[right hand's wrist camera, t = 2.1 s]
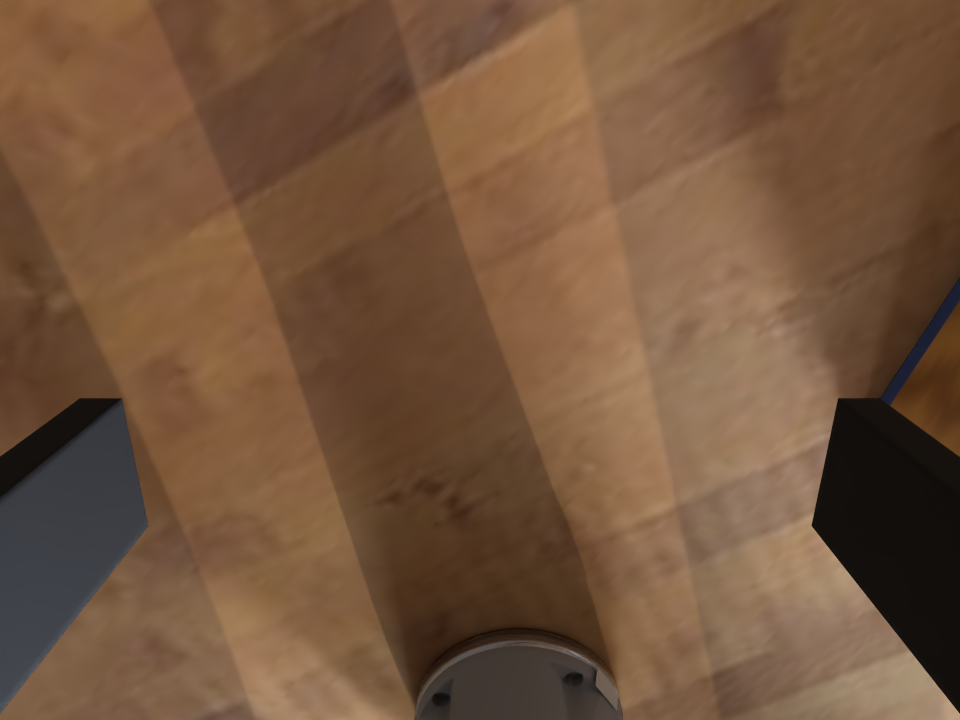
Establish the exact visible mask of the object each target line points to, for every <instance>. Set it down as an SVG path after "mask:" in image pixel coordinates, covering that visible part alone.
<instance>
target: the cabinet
mask: <svg viewBox="0 0 960 720" xmlns="http://www.w3.org/2000/svg"><path fill="white" fill-rule="evenodd" d="M881 400H883V401H884V402H886V403H887V404H888V405H890V406H891V407H892V408H894V409H895V410H896V411H898V412H899V413H901V414H902V415H903V416H905V417H906V418H907V419H909V420H910V421H912V422H913V423H914V424H916V425H917V426H918V427H920V428H921V429H922V430H924V431H925V432H927V433H928V434H929V435H931V436H932V437H933V438H935V439H936V440H937V441H939V442H940V443H942V444H943V445H944V446H946V447H947V448H948V449H950V450H951V451H952V452H954V453H955V454H957V455H958V456H959V457H960V278H959V280H958V281H957V283H956V284H955V286H954V287H953V289H952V291H951V292H950V294H949V295H948V297H947V298H946V300H945V301H944V303H943V304H942V306H941V307H940V309H939V310H938V312H937V313H936V315H935V317H934V318H933V320H932V321H931V323H930V324H929V326H928V327H927V329H926V330H925V332H924V333H923V335H922V336H921V338H920V339H919V341H918V342H917V344H916V346H915V347H914V349H913V350H912V352H911V353H910V355H909V356H908V358H907V359H906V361H905V362H904V364H903V365H902V367H901V368H900V370H899V371H898V373H897V375H896V376H895V378H894V379H893V381H892V382H891V384H890V385H889V387H888V388H887V390H886V391H885V393H884V394H883V396H882V397H881Z"/></svg>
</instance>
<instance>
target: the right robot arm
mask: <svg viewBox="0 0 960 720" xmlns="http://www.w3.org/2000/svg"><path fill="white" fill-rule="evenodd" d="M147 527H148V522H147V517H146V512H145V507H144V503H143V498H142V493H141V488H140V483H139V479H138V474H137V469H136V464H135V459H134V455H133V450H132V445H131V440H130V435H129V431H128V426H127V421H126V416H125V411H124V407H123V402H122V398H80V399H79V400H77V401H76V402H74V403H73V404H72V405H70V406H69V407H68V408H66V409H65V410H64V411H62V412H61V413H59V414H58V415H57V416H55V417H54V418H53V419H51V420H50V421H48V422H47V423H46V424H44V425H43V426H42V427H40V428H39V429H38V430H36V431H35V432H33V433H32V434H31V435H29V436H28V437H27V438H25V439H24V440H23V441H21V442H20V443H18V444H17V445H16V446H14V447H13V448H12V449H10V450H9V451H8V452H6V453H5V454H3V455H2V456H1V457H0V713H1V712H2V711H3V709H4V708H5V707H6V706H7V704H8V703H9V702H10V700H11V699H12V698H13V697H14V695H15V694H16V693H17V692H18V690H19V689H20V688H21V687H22V685H23V684H24V683H25V681H26V680H27V679H28V678H29V676H30V675H31V674H32V673H33V671H34V670H35V669H36V668H37V666H38V665H39V664H40V662H41V661H42V660H43V659H44V657H45V656H46V655H47V654H48V652H49V651H50V650H51V649H52V647H53V646H54V645H55V643H56V642H57V641H58V640H59V638H60V637H61V636H62V635H63V633H64V632H65V631H66V630H67V628H68V627H69V626H70V624H71V623H72V622H73V621H74V619H75V618H76V617H77V616H78V614H79V613H80V612H81V611H82V609H83V608H84V607H85V605H86V604H87V603H88V602H89V600H90V599H91V598H92V597H93V595H94V594H95V593H96V592H97V590H98V589H99V588H100V586H101V585H102V584H103V583H104V581H105V580H106V579H107V578H108V576H109V575H110V574H111V573H112V571H113V570H114V569H115V567H116V566H117V565H118V564H119V562H120V561H121V560H122V559H123V557H124V556H125V555H126V554H127V552H128V551H129V550H130V548H131V547H132V546H133V545H134V543H135V542H136V541H137V540H138V538H139V537H140V536H141V534H142V533H143V532H144V531H145V529H146V528H147ZM812 527H813V528H814V529H815V531H816V532H817V533H818V534H819V536H820V537H821V538H822V540H823V541H824V542H825V543H826V545H827V546H828V547H829V548H830V550H831V551H832V552H833V554H834V555H835V556H836V557H837V559H838V560H839V561H840V562H841V564H842V565H843V566H844V567H845V569H846V570H847V571H848V573H849V574H850V575H851V576H852V578H853V579H854V580H855V581H856V583H857V584H858V585H859V586H860V588H861V589H862V590H863V592H864V593H865V594H866V595H867V597H868V598H869V599H870V600H871V602H872V603H873V604H874V605H875V607H876V608H877V609H878V611H879V612H880V613H881V614H882V616H883V617H884V618H885V619H886V621H887V622H888V623H889V624H890V626H891V627H892V628H893V630H894V631H895V632H896V633H897V635H898V636H899V637H900V638H901V640H902V641H903V642H904V643H905V645H906V646H907V647H908V649H909V650H910V651H911V652H912V654H913V655H914V656H915V657H916V659H917V660H918V661H919V662H920V664H921V665H922V666H923V668H924V669H925V670H926V671H927V673H928V674H929V675H930V676H931V678H932V679H933V680H934V681H935V683H936V684H937V685H938V687H939V688H940V689H941V690H942V692H943V693H944V694H945V695H946V697H947V698H948V699H949V700H950V702H951V703H952V704H953V706H954V707H955V708H956V709H957V711H958V712H959V713H960V457H959V456H958V455H957V454H955V453H954V452H952V451H951V450H950V449H948V448H947V447H946V446H944V445H943V444H942V443H940V442H939V441H937V440H936V439H935V438H933V437H932V436H931V435H929V434H928V433H927V432H925V431H924V430H922V429H921V428H920V427H918V426H917V425H916V424H914V423H913V422H912V421H910V420H909V419H907V418H906V417H905V416H903V415H902V414H901V413H899V412H898V411H896V410H895V409H894V408H892V407H891V406H890V405H888V404H887V403H886V402H884V401H883V400H881V399H880V398H838V402H837V407H836V411H835V416H834V421H833V426H832V431H831V435H830V440H829V445H828V450H827V455H826V459H825V464H824V469H823V474H822V479H821V483H820V488H819V493H818V498H817V503H816V507H815V512H814V517H813V522H812ZM618 693H619V692H618V690H617V686H616V684H615V681H614V679H613V677H612V675H611V673H610V671H609V670H608V669H607V667H606V666H605V664H604V663H603V662H602V661H601V660H600V659H599V658H598V657H597V656H596V655H595V654H593V653H592V652H591V651H589V650H588V649H587V648H585V647H584V646H582V645H580V644H578V643H577V642H574V641H572V640H570V639H568V638H565V637H563V636H560V635H556V634H553V633H549V632H544V631H537V630H526V629H513V630H502V631H495V632H490V633H486V634H483V635H479V636H476V637H474V638H471V639H468V640H466V641H464V642H462V643H460V644H458V645H457V646H455V647H453V648H452V649H450V650H449V651H447V652H446V653H445V654H443V655H442V656H441V657H440V658H439V659H438V660H437V661H436V662H435V663H434V664H433V665H432V666H431V668H430V669H429V670H428V672H427V673H426V675H425V677H424V679H423V680H422V683H421V685H420V688H419V692H418V696H417V704H416V713H415V720H623V714H622V708H621V703H620V699H619V695H618Z"/></svg>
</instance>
